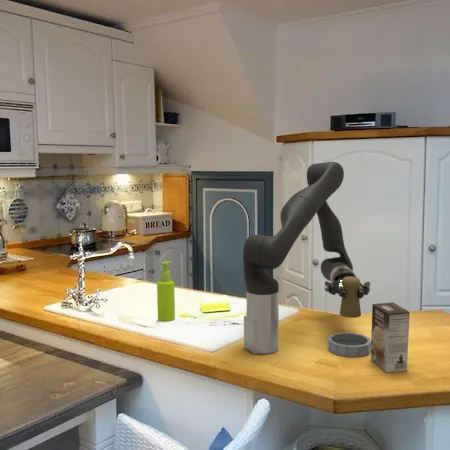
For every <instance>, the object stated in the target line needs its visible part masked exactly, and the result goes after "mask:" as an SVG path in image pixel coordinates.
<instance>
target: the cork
mask: <svg viewBox="0 0 450 450" xmlns="http://www.w3.org/2000/svg"><path fill="white" fill-rule="evenodd" d="M360 282H361V280H360V278H359V277H357V276H356V277H353V276H348V277H344V278H343V279H342V287H343V288H344V290H345V299H343V298H342V297H341V302H340V308H339V315H340V316H341V317H344V318H349V319H353V318H354V319H355V318H360V317H361V316H362V312H361V311H362V310H361V309H362V308H361V303H360V302H361V299H359V298H358V288H359V287H360Z"/></svg>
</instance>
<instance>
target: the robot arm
mask: <svg viewBox="0 0 450 450" xmlns="http://www.w3.org/2000/svg"><path fill="white" fill-rule="evenodd" d="M344 175H345V172H344V167H343V166H342V165H341V164H340V163H339V162H336V161H327V162H326V161H324V162H318V163H317V162H316V163H312V164H311V165H309V166H308V168H307V171H306V181H307V187H304V188H302V189H301V190H298V192H296V193H294V194H293V195H292V196H291V197H290V198H289V199H288V200H287V201H286V202H285V204H284V205H283V207H282V208H281V211H280V217H279V218H280V224H281V228H280V229H279V230H278V232H277V233H276V234H275V235H272V236H269V235H261V234H251V235H249V236H248V237H247V238H246V240H245V242H244V245H243V253H242V261H243V277H244V278H243V279H244V283H245V286H246V315H244V316H243V348H244V349H245V350H247V351H249V352H250V353H252V354H253V355H256V354H258V355H259V354H261V355H265V354H267V355H268V354H273V353H276V352H277V351H278V350H279V319H280V318H279V308H280V307H279V305H280V302H279V300H280V299H279V298H280V296H279V294H280V293H279V291H280V289H279V288H280V285H279V282H278V281H277V280H278V279H276V278H273V277H272V276H271V275H269V274H268V273H267V271H266V269H267V270H275V269H277V268H279V267H280V266H281V265H282V264H283V263H284V261H285V259H286V258H287V256H288V254H289V253H290V251H291V249H292V248H293V246H294V244H295V243H296V241H297V239H298V238H299V236H300V235H301V234H302V232H303V231H304V230H305V228H306V227H307V226H308V225H309V223H310V222H311V221H312V220H313V218H314V217H315V216H316V215H317V219H318V224H319V228H320V234H321V235H320V236H321V240H322V247H323V250H324V251H325V252H328V253H336V254H338V255H339V256H336V257H329V258H325V259H323V260H322V261H321V263H320V271H321V274H322V276H323V277H324V279H326V281H324V291H325V292H327V293H329V294H330V295H333V296H335V295H338V296H339V297H340V298H341V299H342V298H343V299H345V290H344V288H343V287H342V279H343V278H344V277H348V276H353V277H357V276H356V274H355V273H354V271H353V270H354V268H353V267H354V266H353V262H352V260H351V258H350V257H349V255H348V253H347V252H348V251H347V250H346V247H345V242H344V235H343V228H342V225H341V222H340V220H339V218H338V216H337V215H336V214H335V212H334V211H333V209H332V208H331V207H330V205H329V203H328V202H327V200H329V198H330V197H331V196H332V195H333V194H334V193H336V191H337V190H339V189H340V187H341V186H342V183H343V182H344ZM370 291H371V282H370V281H365V282H364V283H361V281H360V287H359V288H358V298H359V300H362V299H363V298H364V297H365V296H368V295H369V293H370Z"/></svg>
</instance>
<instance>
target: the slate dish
mask: <svg viewBox="0 0 450 450" xmlns="http://www.w3.org/2000/svg"><path fill="white" fill-rule="evenodd" d="M327 346H328V347H327V348H328V351H329V352H330V353H332V354H333V355H337V356H340V357H346V358H361V357H365V356H369V354H370V355H371V338H370V337H369V336H366V335H364V334H361V333H356V332H343V331H342V332H336V333H332V334H330V335H329V336H327Z"/></svg>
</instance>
